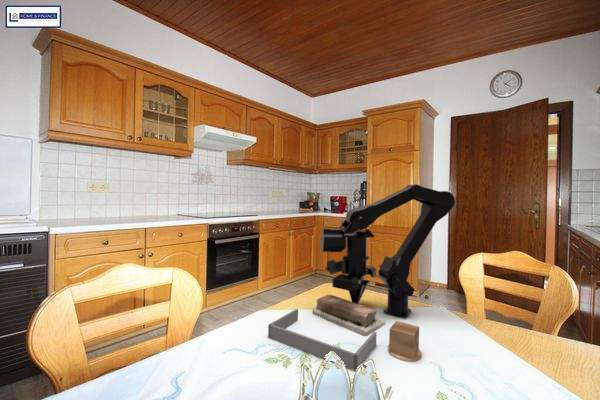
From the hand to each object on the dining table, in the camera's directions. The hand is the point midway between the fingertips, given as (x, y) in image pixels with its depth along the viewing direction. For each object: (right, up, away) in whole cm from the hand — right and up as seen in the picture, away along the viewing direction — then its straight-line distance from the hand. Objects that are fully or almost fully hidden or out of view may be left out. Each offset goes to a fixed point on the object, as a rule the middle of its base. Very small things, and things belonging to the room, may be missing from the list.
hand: (355, 305), depth 82 cm
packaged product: (-3, -3, -4) cm, 6 cm away
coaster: (+7, -3, -20) cm, 22 cm away
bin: (-11, -2, -17) cm, 20 cm away
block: (+7, -2, -21) cm, 22 cm away
